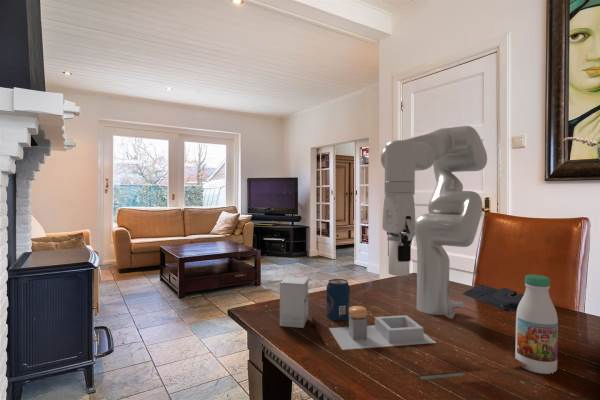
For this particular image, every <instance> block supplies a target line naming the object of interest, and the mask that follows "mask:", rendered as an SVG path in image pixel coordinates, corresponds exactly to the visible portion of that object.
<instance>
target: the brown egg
mask: <svg viewBox="0 0 600 400" xmlns="http://www.w3.org/2000/svg"><path fill="white" fill-rule="evenodd" d="M367 312H368V311H367V308H366V307H364V306H361V305H353V306H350V308H349V315H350V316H351V317H354V318H355V319H361V318H364V317H365V318H366V317H367Z"/></svg>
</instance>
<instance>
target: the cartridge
mask: <svg viewBox="0 0 600 400" xmlns="http://www.w3.org/2000/svg"><path fill="white" fill-rule="evenodd" d="M402 237H403V238H404V237H405V236H402ZM387 239H388V240H389V257H388V269H387V271H388V274H389V275H392V276H398V277H406V276H409V275H410V261H407V262H399V261H398V246H400V245H399V237H398V234H389V235H387ZM388 240H387V241H388Z"/></svg>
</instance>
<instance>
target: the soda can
mask: <svg viewBox="0 0 600 400" xmlns="http://www.w3.org/2000/svg"><path fill="white" fill-rule="evenodd" d="M325 295H326V304H325V306H326V309H325V311H326V314H325V315H326V318H327V319H329V320H332V321H336V322H338V321H347V320H349V308H350V307H351V287H350V285H349V281H348V280H346V279H343V278H332V279H329V280H328V282H327V285H326V294H325Z"/></svg>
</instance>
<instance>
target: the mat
mask: <svg viewBox="0 0 600 400" xmlns="http://www.w3.org/2000/svg"><path fill="white" fill-rule="evenodd" d="M463 375H464V376H465V371H453V372H443V373H430V374H420V375H416V377H418V379H419V380H429V379H437V378H438V379H441V378H450V377H452V376H453V377H462V376H463ZM464 376H463V377H464Z"/></svg>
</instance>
